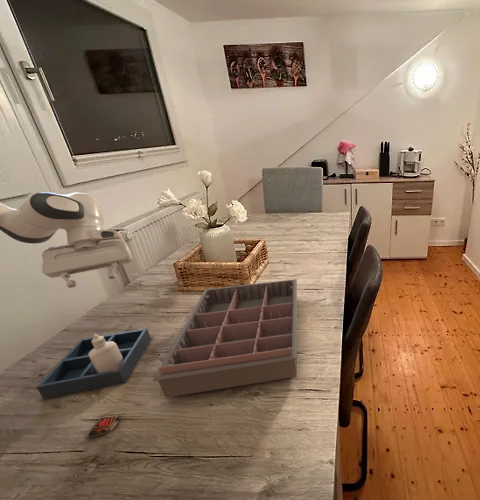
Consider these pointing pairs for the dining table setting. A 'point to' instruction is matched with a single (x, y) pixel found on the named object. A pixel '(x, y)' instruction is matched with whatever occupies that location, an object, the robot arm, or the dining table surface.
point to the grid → (84, 373)
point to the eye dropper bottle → (105, 355)
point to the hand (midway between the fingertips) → (92, 282)
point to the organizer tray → (234, 339)
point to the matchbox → (103, 425)
